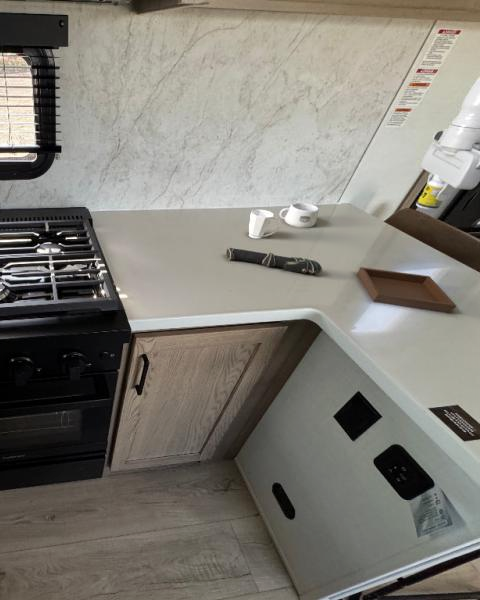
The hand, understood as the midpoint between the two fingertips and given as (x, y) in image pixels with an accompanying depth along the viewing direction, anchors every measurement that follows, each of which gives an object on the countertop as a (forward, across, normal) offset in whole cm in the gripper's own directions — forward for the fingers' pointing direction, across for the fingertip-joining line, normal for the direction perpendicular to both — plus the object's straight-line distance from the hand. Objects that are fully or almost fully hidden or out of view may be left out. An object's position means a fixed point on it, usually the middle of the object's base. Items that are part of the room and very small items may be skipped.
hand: (433, 195), depth 91 cm
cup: (+19, +4, +37) cm, 42 cm away
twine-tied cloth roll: (+19, -16, +36) cm, 44 cm away
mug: (+19, +20, +24) cm, 37 cm away
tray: (+19, -20, +6) cm, 29 cm away
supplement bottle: (+3, 0, 0) cm, 3 cm away
